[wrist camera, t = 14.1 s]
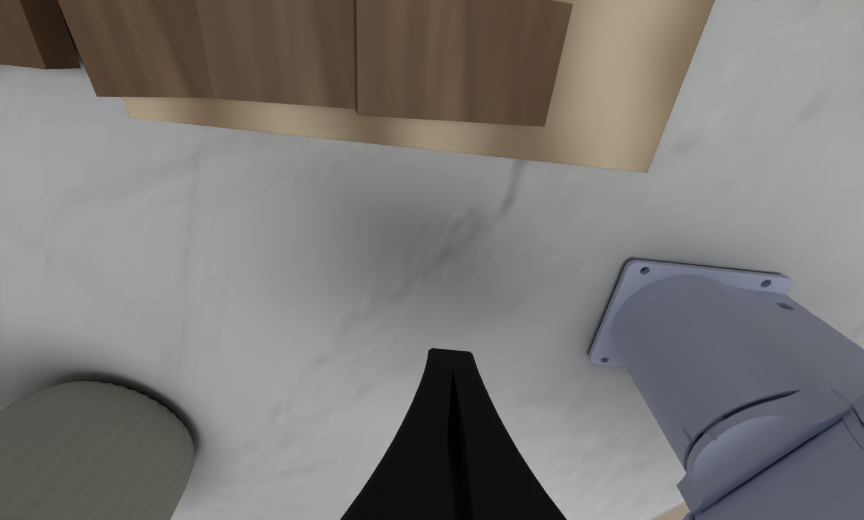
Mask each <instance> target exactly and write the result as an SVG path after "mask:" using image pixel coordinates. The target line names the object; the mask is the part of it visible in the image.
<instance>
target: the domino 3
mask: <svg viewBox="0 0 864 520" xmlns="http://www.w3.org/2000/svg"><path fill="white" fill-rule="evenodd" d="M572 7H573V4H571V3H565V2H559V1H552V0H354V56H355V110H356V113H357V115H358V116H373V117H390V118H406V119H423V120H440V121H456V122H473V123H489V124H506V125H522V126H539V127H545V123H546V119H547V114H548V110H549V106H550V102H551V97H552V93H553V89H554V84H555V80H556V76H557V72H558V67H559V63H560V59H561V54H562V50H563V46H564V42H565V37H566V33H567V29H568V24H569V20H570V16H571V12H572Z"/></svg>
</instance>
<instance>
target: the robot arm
mask: <svg viewBox="0 0 864 520" xmlns="http://www.w3.org/2000/svg"><path fill="white" fill-rule="evenodd" d="M643 267H646V269H645V270H643V271H640V270H641V269H642V268H643ZM763 281H764V282H763ZM762 282H763V283H762ZM791 285H792V280H791V279H790V278H789V277H787V276H785V275H779V274H770V273H760V272H751V271H741V270H732V269H722V268H713V267H704V266H694V265H685V264H675V263H666V262H656V261H647V260H637V259H636V260H631V261H629V262H628V263H627V264H626V265H625V267H624V270H623V272H622V275H621V277H620V279H619V282H618V284H617V287H616V289H615V291H614V294H613V296H612V299H611V301H610V303H609V306H608V308H607V311H606V313H605V316H604V318H603V320H602V323H601V325H600V328H599V330H598V332H597V335H596V337H595V340H594V342H593V344H592V347H591V349H590V352H589V354H588V358H589V360H590V362H591V363H592V364H598V365H608V366H617V367H626V368H627V370H628V371H629V373H630V375H631V377H632V378H633V380H634V382H635V384H636V385H637V387H638V389H639V391H640V392H641V394H642V396H643V398H644V399H645V401H646V403H647V405H648V406H649V408H650V410H651V412H652V413H653V415H654V417H655V419H656V420H657V422H658V424H659V426H660V427H661V429H662V431H663V433H664V434H665V436H666V438H667V440H668V441H669V443H670V445H671V447H672V448H673V450H674V452H675V454H676V455H677V457H678V459H679V461H680V462H681V464H682V466H683V468H684V469H685V471H686V475H685V477H684V478H683V479H682V480H681V481H680V482H679V483H678V484H677V487H678V489H679V491H680V493H681V495H682V497H683V498H684V500H685V502H686V504H687V506H688V508H689V510H690V512H689V513H687V514H686V516H685V517H684V518H683V520H864V349H863V348H861V347H860V346H858V345H857V344H855V343H854V342H853V341H851V340H850V339H848V338H847V337H845V336H844V335H842V334H841V333H840V332H838V331H837V330H835V329H834V328H832V327H831V326H830V325H828V324H827V323H825V322H824V321H822V320H821V319H820V318H818V317H817V316H815V315H814V314H812V313H811V312H809V311H808V310H807V309H805V308H804V307H802V306H801V305H799V304H798V303H797V302H795V301H794V300H792V299H791V298H789V297H788V296H786V295H785V294H786V293H787V291H788V290H789V288H790V287H791ZM603 357H605V358H603ZM602 358H603V359H602ZM340 520H567V519H566V518H565V517H564V515H563V514H562V513H561V511H560V510H559V509H558V507H557V506H556V505H555V504H554V502H553V501H552V500H551V498H550V497H549V496H548V494H547V493H546V492H545V490H544V489H543V487H542V486H541V484H540V483H539V481H538V480H537V479H536V477H535V476H534V474H533V473H532V471H531V470H530V468H529V467H528V465H527V463H526V462H525V460H524V459H523V457H522V456H521V454H520V452H519V451H518V449H517V448H516V446H515V444H514V442H513V441H512V439H511V437H510V435H509V434H508V432H507V430H506V428H505V427H504V425H503V423H502V421H501V419H500V417H499V415H498V413H497V411H496V409H495V407H494V405H493V403H492V401H491V399H490V397H489V395H488V393H487V390H486V388H485V386H484V383H483V381H482V379H481V376H480V374H479V371H478V368H477V366H476V363H475V360H474V357H473V354H472V353H471V352H468V351H457V350H447V349H436V348H432V349H430V350H428V358H427V363H426V367H425V370H424V373H423V376H422V379H421V382H420V385H419V387H418V390H417V392H416V394H415V397H414V399H413V402H412V404H411V406H410V408H409V410H408V412H407V414H406V416H405V418H404V420H403V422H402V424H401V426H400V428H399V430H398V432H397V434H396V436H395V438H394V439H393V441H392V443H391V445H390V446H389V448H388V450H387V451H386V453H385V455H384V456H383V458H382V460H381V461H380V463H379V464H378V466H377V468H376V469H375V471H374V472H373V474H372V475H371V477H370V479H369V480H368V482H367V483H366V484H365V486H364V487H363V489H362V490H361V492H360V493H359V495H358V496H357V497H356V499H355V500H354V501H353V503H352V504H351V506H350V507H349V508H348V510H347V511H346V512H345V514H344V515H343V516H342V518H341V519H340Z"/></svg>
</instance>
